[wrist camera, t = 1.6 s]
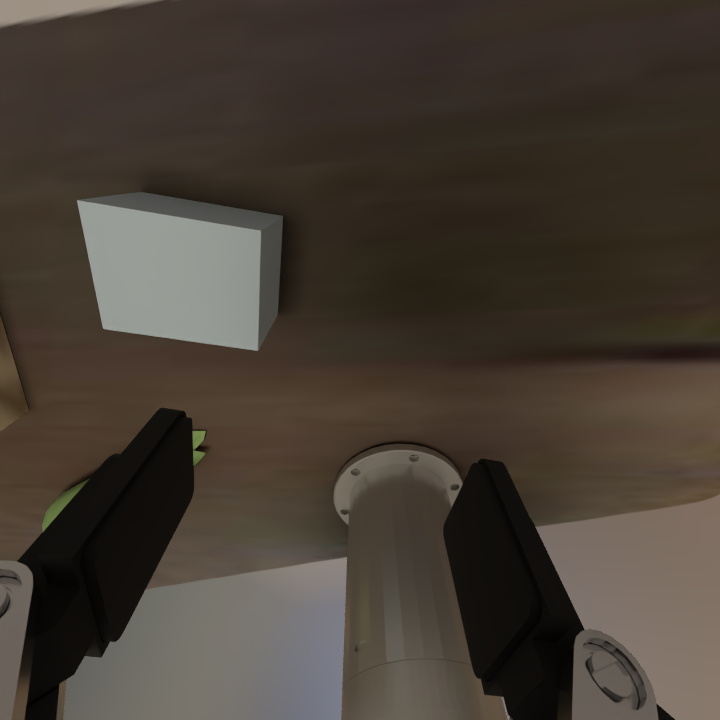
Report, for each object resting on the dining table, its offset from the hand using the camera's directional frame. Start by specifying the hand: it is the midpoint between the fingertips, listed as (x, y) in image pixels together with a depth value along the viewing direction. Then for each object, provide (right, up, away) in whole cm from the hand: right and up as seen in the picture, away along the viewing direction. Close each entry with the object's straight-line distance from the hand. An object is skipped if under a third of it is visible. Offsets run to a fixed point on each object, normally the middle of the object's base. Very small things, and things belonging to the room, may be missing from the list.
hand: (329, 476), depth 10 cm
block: (-9, +10, +15) cm, 20 cm away
